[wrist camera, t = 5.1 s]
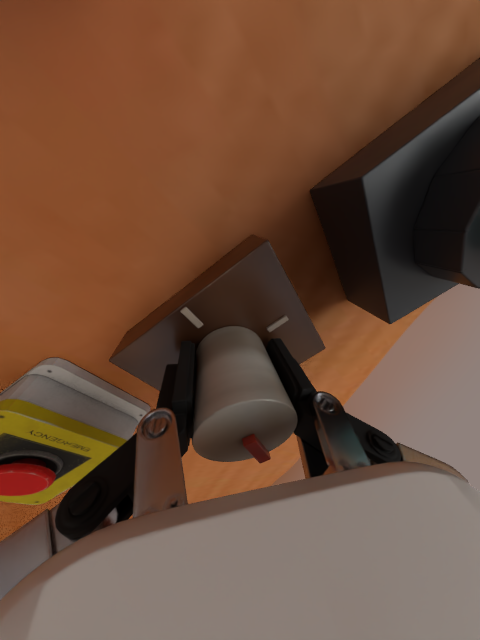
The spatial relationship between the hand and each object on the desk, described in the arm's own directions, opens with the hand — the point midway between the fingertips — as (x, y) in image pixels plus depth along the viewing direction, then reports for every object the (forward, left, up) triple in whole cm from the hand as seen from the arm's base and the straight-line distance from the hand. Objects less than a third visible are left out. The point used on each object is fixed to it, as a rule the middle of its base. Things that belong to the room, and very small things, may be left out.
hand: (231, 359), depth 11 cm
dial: (0, 0, 0) cm, 0 cm away
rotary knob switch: (0, 0, -4) cm, 4 cm away
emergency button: (+18, -2, -4) cm, 19 cm away
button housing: (-15, 0, -4) cm, 15 cm away
